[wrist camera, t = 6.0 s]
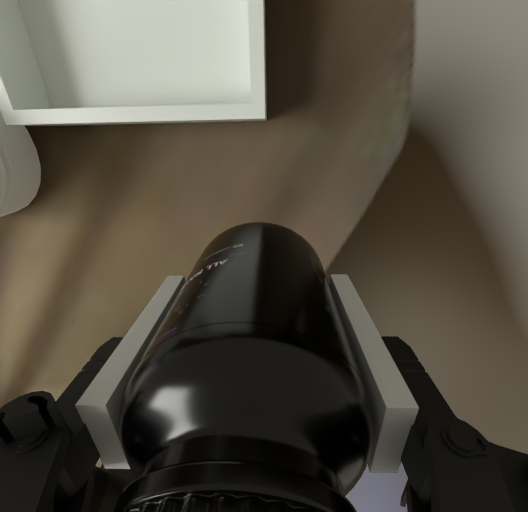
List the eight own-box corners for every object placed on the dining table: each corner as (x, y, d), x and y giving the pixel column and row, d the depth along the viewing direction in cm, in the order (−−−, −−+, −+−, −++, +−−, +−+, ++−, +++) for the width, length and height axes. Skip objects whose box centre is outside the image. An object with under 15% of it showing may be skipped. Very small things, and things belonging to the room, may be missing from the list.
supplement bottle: (206, 204, 13) (-124, 570, 2) (339, 234, 14) (626, 656, 3) (191, 315, 16) (18, 715, 5) (302, 336, 16) (364, 743, 5)
